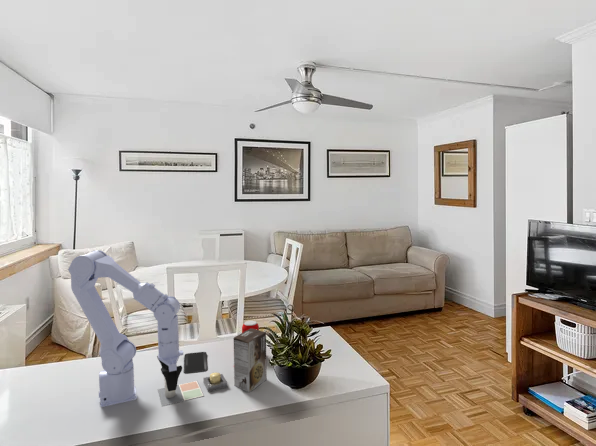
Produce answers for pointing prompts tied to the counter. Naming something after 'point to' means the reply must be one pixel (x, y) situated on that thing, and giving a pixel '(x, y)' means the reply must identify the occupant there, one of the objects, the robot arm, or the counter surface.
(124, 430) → the counter surface
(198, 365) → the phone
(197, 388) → the picture board
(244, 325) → the beverage can
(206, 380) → the button collar
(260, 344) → the coffee box
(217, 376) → the button
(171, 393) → the marker
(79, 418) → the counter surface
